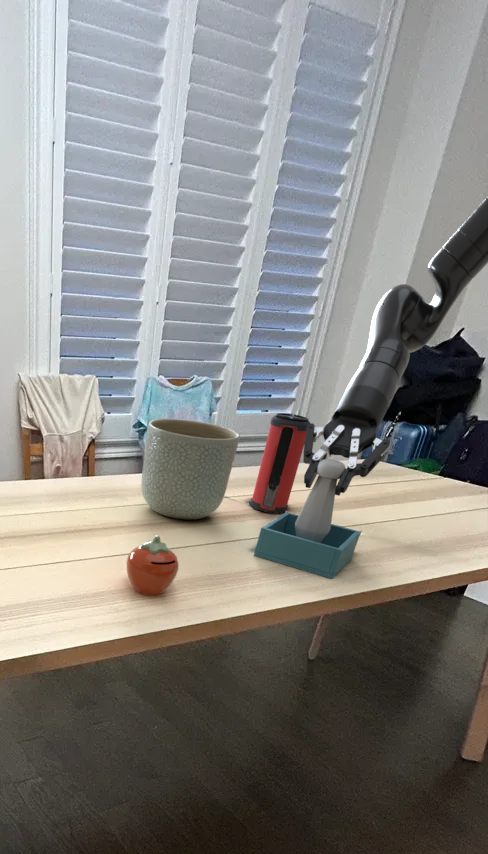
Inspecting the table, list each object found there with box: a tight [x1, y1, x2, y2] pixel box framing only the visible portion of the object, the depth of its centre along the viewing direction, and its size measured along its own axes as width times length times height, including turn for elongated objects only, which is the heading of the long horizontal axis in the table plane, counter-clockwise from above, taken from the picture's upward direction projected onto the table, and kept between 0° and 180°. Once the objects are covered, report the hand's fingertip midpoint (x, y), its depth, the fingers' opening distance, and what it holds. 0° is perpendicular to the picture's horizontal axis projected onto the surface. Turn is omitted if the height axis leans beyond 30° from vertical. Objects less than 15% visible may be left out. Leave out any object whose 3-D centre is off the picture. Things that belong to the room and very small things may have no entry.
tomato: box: [126, 535, 180, 597], centre depth 89 cm, size 7×7×8 cm
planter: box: [140, 418, 241, 521], centre depth 121 cm, size 17×17×15 cm
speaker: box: [249, 412, 311, 515], centre depth 129 cm, size 8×8×18 cm
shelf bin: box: [253, 511, 362, 579], centre depth 109 cm, size 14×14×5 cm
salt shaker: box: [295, 458, 346, 543], centre depth 105 cm, size 6×6×13 cm
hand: (322, 488), depth 103 cm, fingers closed on salt shaker, 4 cm apart
